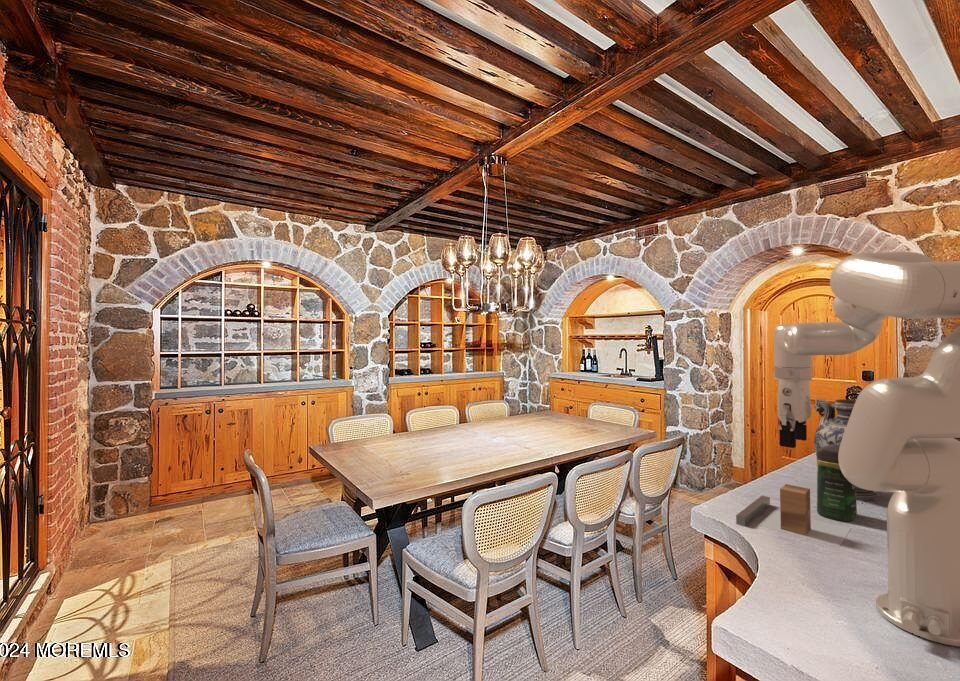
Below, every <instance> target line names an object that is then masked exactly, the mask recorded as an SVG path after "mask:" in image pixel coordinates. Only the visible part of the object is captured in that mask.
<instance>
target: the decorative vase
mask: <svg viewBox="0 0 960 681" xmlns="http://www.w3.org/2000/svg"><path fill="white" fill-rule="evenodd" d="M856 400H857V399H845V398H844V399H835V401H834V403H831V402H829V401H828V400H826V399H823V398H819V399H815V400H814V401H813V406H814V412H816V413H817V412H818V414H819V416H821V417H820V420H819V424H818V427H817V429H816V431H815V433H814V437H813V439H814V441H813V444H814V451H815V455H816V456H817V450H818V449H820V448H821V447H824V446H828V445H830V444H835V445H840V443H841V440H842V437H843V435H844V432H845V429H846V426H847V424H848V421H849V418H850V415H851V413H852V410H853V407H854V404H855V402H856ZM878 499H879V495H878V493H876V491H871V490H865V489H862V488H859V487H857V486H856V501H858V500H859V501H868V500H870V501H876V500H878Z"/></svg>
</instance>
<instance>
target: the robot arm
mask: <svg viewBox="0 0 960 681" xmlns="http://www.w3.org/2000/svg"><path fill="white" fill-rule="evenodd" d="M829 285H830V290H831V292H832V293H833V295H834V298H833V301H832V310H833V312H834V314H835V316H836V317H837V318H838V319H839V320H840V321H826V322H825V321H823V322H821V321H820V322H818V321H817V322H800V323H799V322H798V323H790V324H788V323H787V324H778V325H777V326H775V328H774V330H773V349H774V350H773V352H774V353H773V355H774V356H773V358H774V359H773V360H774V362H773V363H774V364H773V368H774V373H773V374H774V380H775V381H778V386H777V417H778V420H779V422H778V423H779V426H778V428H779V430H778V431H779V434H778V436H779V440H778V441H779V444H778V445H779V446H780V447H784V448H791V449H795V448H796V446H797V441H807V438H808V436H807V435H808V434H807V433H808V432H807V431H808V430H807V428H808V427H807V420H809V419H810V418H811V417H812V407H811V406H812V405H811V403H812V402H811V391H810V390H811V388H810V382H812V381H813V369H812V367H813V362H812V361H813V359H812V358H813V356H843V355H851V354H853V353H856V352H858V351H860V350H861V349H864V348H865V347H867V346H869V345H870V344H872V343H873V342H875V341H876V340H877V339H878V337H879V335H880V332H881V330H882V326H883V320H884V319H887V318H888V317H892V318H896V319H897V318H898V319H906V320H908V319H911V320H913V319H917V320H918V319H953V318H954V319H955V318H960V260H954V261H936V260H934V259H933V258H931V257H929V256H928V255H925V254H923V253H918V252H914V251H913V252H912V251H884V252H882V251H881V252H863V253H862V252H861V253H856V254H855V253H854V254H851V255H849V256H846V257H845V258H844V259H842V260H841V261H840V262H838V263H837V264H836V266H835V267H834V268H833V270H832V272H831V274H830V279H829ZM855 400H856V402H855V404H854V407H853V410H852V413H851V415H850V418H849V421H848V424H847V426H846V429H845V432H844V435H843V437H842V440H841V443H840V447H839V453H838V461H839V466H840V469H841V472H842V474H843V475H844V477H845V478H846V479H847V480H848V481H849V482H850V483H852V484H853V485H855V486H857V487H859V488H862V489H865V490H871V491H874V492H893V494H892V495H891V497H890V499H889V502H888V505H887V509H886V537H887V538H886V548H887V550H886V551H887V552H886V553H887V556H886V557H887V593H883V594H880V595H878V596H877V598H876V599H875V606H876V609H877V611H878V612H879V613H880V615H881V616H883V618H885V619H886V620H887V621H889V623H891V624H893V625H894V626H897V627H898V628H900V629H901V630H904V631H906V632H908V633H910V634H912V633H913V634H912V635H914V636H917V637H919V636H920V637H919V638H922V639H925V640H928V641H930V642H935V643H938V644H942V645H946V646H947V645H948V646H952V647H960V440H958V439H960V326H958V327H957V328H955V329H954V330H953V331H951V332H950V333H949V334H947V336H945V337H944V338H943V339H942V340H941V342H939V344H938V345H937V347H936V348H935V349H934V351H933V353H932V356H931V357H930V361H929V363H928V364H927V366H926V368H925V370H924V371H923V372H922V373H921V374H919V375H918V376H913V377H912V376H911V377H910V376H909V377H906V376H905V377H889V378H888V377H886V378H880V379H877V380H875V381H872V382H871V383H869V384H868V385H866V386H865V387H863V389H862V390H861V391H860V393H859V394H858V395H857V397H856V399H855Z"/></svg>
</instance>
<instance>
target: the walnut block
mask: <svg viewBox="0 0 960 681" xmlns="http://www.w3.org/2000/svg"><path fill="white" fill-rule="evenodd" d="M779 501H780V505H779V506H780V510H779V511H780V512H781V529H782V530H786V531H790V532H793V533H797V534H801V535H805V536H806V535H807V533H808V532H809V531H810V530H811V519H812V517H811V516H812V515H811V489H810V488H807V487H801V486H797V485H792V484H789V483H785V484H784V485H783V486H782V487H781V488H779Z"/></svg>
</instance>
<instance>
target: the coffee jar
mask: <svg viewBox="0 0 960 681" xmlns="http://www.w3.org/2000/svg"><path fill="white" fill-rule="evenodd" d="M839 447H840V445H835V444H830V445H828V446H824V447H821V448H820V449H818V450H817V455H816V475H817V477H816V478H817V479H816V487H817V489H816V512H817V514H818V515H820V516H823V517H825V518H827V519H829V520H834V521H841V522H847V523H849V522H852V521H853V520H855V519H856V517H857V513H858V508H857V506H858V505H857V499H856V486H855V485H853V484H852V483H850V482H849V481H848V480H847V479H846V478H845V477H844V475H843V474H842V472H841V469H840V466H839V461H838V453H839Z"/></svg>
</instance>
